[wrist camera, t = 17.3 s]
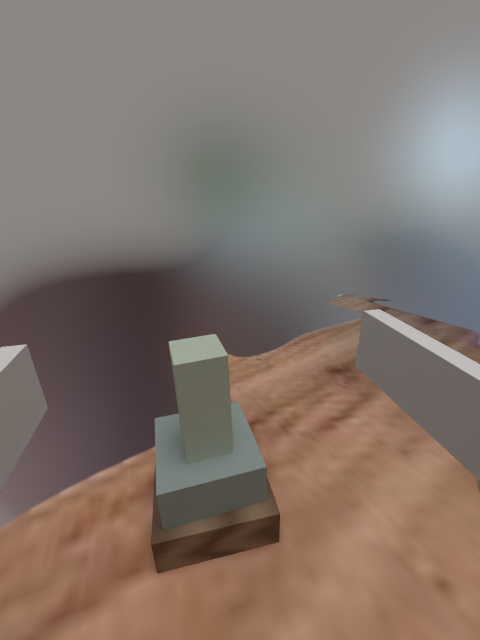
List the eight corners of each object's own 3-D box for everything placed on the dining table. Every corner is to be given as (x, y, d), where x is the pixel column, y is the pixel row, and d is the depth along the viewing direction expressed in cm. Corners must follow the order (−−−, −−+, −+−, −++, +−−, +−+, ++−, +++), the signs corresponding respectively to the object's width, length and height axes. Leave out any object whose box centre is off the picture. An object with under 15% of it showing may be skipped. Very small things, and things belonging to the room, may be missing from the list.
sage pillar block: (187, 464, 31) (173, 365, 26) (181, 431, 35) (168, 341, 31) (233, 452, 32) (227, 355, 28) (222, 421, 37) (215, 333, 32)
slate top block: (163, 530, 30) (156, 495, 28) (160, 448, 40) (154, 418, 38) (266, 500, 32) (266, 466, 30) (239, 430, 42) (238, 401, 40)
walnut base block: (158, 575, 30) (151, 544, 29) (161, 471, 42) (156, 444, 40) (278, 544, 33) (280, 513, 31) (250, 453, 45) (249, 427, 43)
